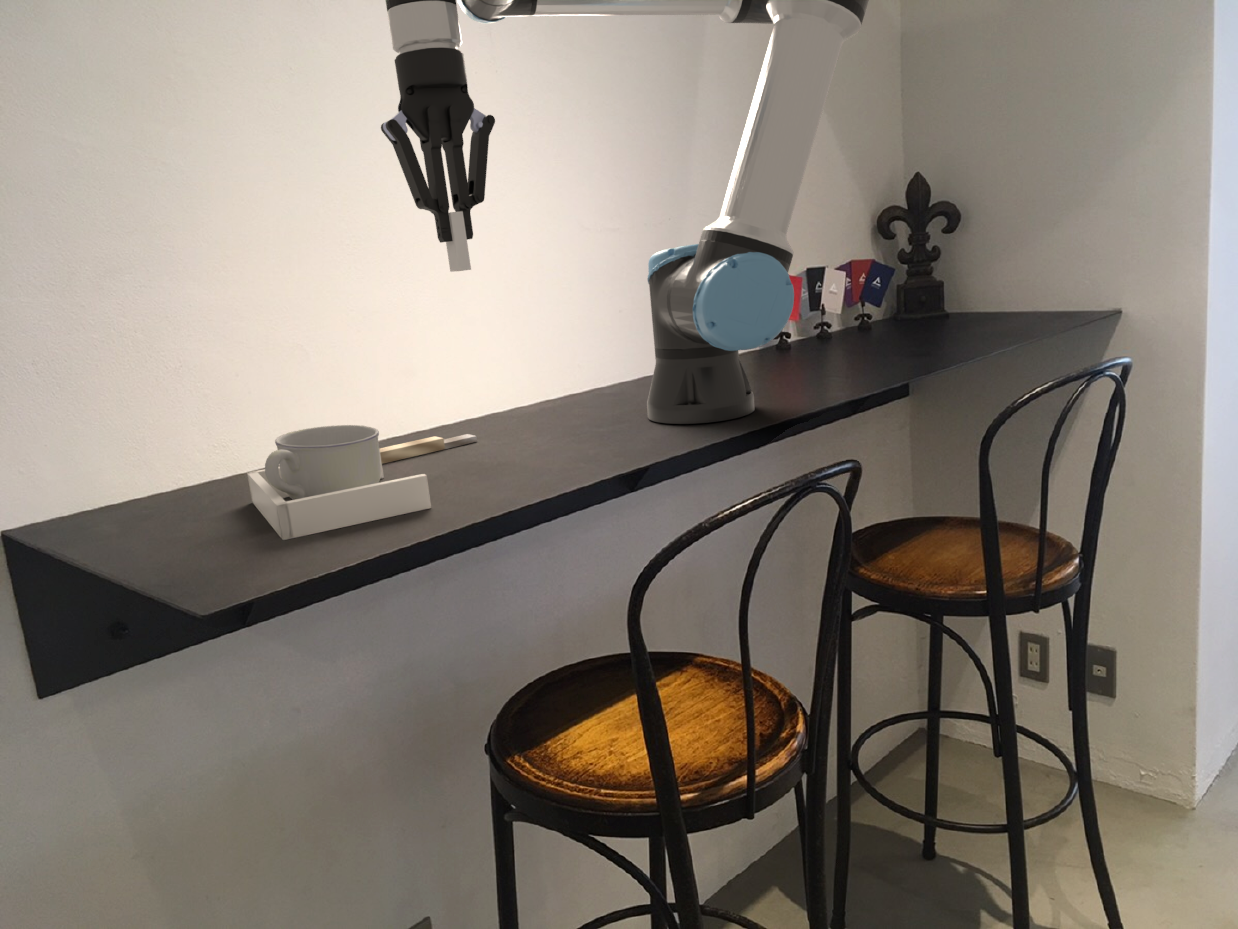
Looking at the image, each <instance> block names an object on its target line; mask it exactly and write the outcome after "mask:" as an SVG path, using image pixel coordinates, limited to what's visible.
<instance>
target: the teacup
mask: <svg viewBox="0 0 1238 929" xmlns="http://www.w3.org/2000/svg"><path fill="white" fill-rule="evenodd" d="M379 435H380V431H379V430H378V429H377V428H375V427H371V426H368V425H357V424H339V425H326V426H325V425H324V426H316V427H309V428H303V429H298V430H294V431H290V432H287V433H284V434H282V435H279V436H277V437H276V438H275V440H274V443H275V445H276V448H277V449H276V450H274V451H272V452H271V453H269V455H268V456H267V458H266V460H265V463H264V469H265V474H266V478H267V480H268V481H269V483H270V484H271V485H272V486H273V487H275V488H277V489H278V490H280V491H282V492H285V493H287V494H288V496H289V497H288V498H290V499H292V500H296V499H301V498H306V497H311V496H316V495H320V494H325V493H330V492H335V491H340V490H345V489H350V488H355V487H360V486H365V485H370V484H375V483H380V482H381V479H380V475H381V468H380V452H379V449H380V444H379ZM279 466H280V472H281V477H282V479H281V478H280V476H279V471H278V467H279Z"/></svg>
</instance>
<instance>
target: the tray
mask: <svg viewBox="0 0 1238 929" xmlns="http://www.w3.org/2000/svg"><path fill="white" fill-rule="evenodd" d="M379 452H380V450H379ZM380 468H381V475H380V480H381V479H385V476H384V469H383V464H382V462H381V455H380ZM278 471H279V476H280V478H281V479H282V477H281V472H280V465H279V467H278ZM246 476H247V480H248V485H249V486H248V487H249V492H250V498H251V503H252V504H253V505H254V506H255V507H256V509H257V510H258V511H259V513H260V514H261V515H262V516H263V518H265V520H266V521H267V522H268V524H269V525H270V526H271V527H272V528H273V530H274V531H275V532H276V533H277V535H278V536H279V537H280V539H281V540H282V541H285V540H291V539H294V538H300V537H305V536H308V535H313V534H319V533H322V532H327V531H333V530H336V529H340V528H346V527H350V526H354V525H360V524H364V523H368V522H369V523H370V522H372V521H373V522H374V521H377V520H382V519H383V520H384V519H387V518H392V517H395V516H396V517H397V516H401V515H404V514H410V513H415V512H419V511H424V510H428V509H431V508H432V503H431V502H432V501H431V496H430V488H429V482H428V476H427V474H425V473H421V474H416V475H410V476H406V477H400V478H395V479H392V480H385V481H380V482H379V483H375V484H370V485H365V486H360V487H355V488H350V489H345V490H340V491H335V492H330V493H325V494H320V495H316V496H311V497H306V498H301V499H296V500H293V499H292V500H285V498H286V499H287V498H290V497H289V496H288V494H287V493H285V492H282V491H280V490H278V489H277V488H275V487H273V486H272V485H271V484H270V483H269V481H268V480H267V478H266V474H265V468H264V469H259V470H253V471H247V472H246Z"/></svg>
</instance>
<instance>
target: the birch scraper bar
mask: <svg viewBox="0 0 1238 929" xmlns="http://www.w3.org/2000/svg"><path fill="white" fill-rule="evenodd" d="M477 438H478V437H477V435H473V434H470V433H466V434H462V435H457V436H453V437H449V438H448V437H447V438H443V437H439V436H436V435H435V436H430V437H425V438H421V439H416V440H412V441H407V442H403V443H399V444H393V445H388V446H385V447H379V450H380V455H381V462H382V465H383V464H387V463H391V462H395V461H399V460H403V459H409V458H413V457H417V456H421V455H426V454H431V453H434V452H439V451H443V450H448V449H452V448H457V447H460V446H465V445H468V444H473V443H477V442H478V439H477Z"/></svg>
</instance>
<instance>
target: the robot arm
mask: <svg viewBox="0 0 1238 929" xmlns="http://www.w3.org/2000/svg"><path fill="white" fill-rule="evenodd" d="M869 1H870V0H385V5H386V6H385V7H386V11H387V19H388V25H389V31H390V33H389V34H390V39H391V44H392V50H393V51H394V52H395V53H398V55H396V57H395V58H394V65H395V72H396V80H397V84H398V86H397V87H398V90H399V96H400V97H399V98H400V99H399V103H398V106H397V111H398V112H397V113H396V114H395V115H394V116H392V117H391V118H390V119H389V120H386V121H385V122H383V123H382V124H381V125H380V130H381V132H382V133H383V135H384V136H385V137H386V139H387V140H388V142H390V143H391V145H392V147H393V149H394V152H395V155H396V156H397V160H398V162H399V165H400V168H401V170H402V172H403V175H404V178H405V180H406V183H407V186H408V188H409V191H410V192H411V195H412V199H413V202H414V203H415V207H416V208H417V209H418V210H425V211H428V212H430V213H431V214H432V215H433V216H434V221H435V222H434V223H435V230H436V235H437V239H438V241H439V243H446V244H445V246H446V251H447V258H448V264H449V270H450V271H449V272H451V273H452V272H464V271H472V266H471V260H470V252H469V246H468V240H472V239H473V237H474V230H473V223H472V216H471V210H472V208H474V207H475V206H477V205H479V204H481V203H483V202H484V201H485V198H486V197H485V195H486V184H487V183H486V182H487V169H488V154H489V144H490V143H489V142H490V135H491V134H492V131H493V128H494V126H495V124H496V118H495V116H493V115H492V114H487V115H486V114H484V113H482V112H481V111H479V110H478V109H477V108H475V104H474V101H473V99H472V98H471V96H470V93H469V90H468V89H469V87H468V76H467V70H466V63H465V56H464V55H465V54H464V53H463V52H462V50H460V49H458V48H460V47H461V45H462V44H463V40H462V33H461V27H460V26H461V25H460V21H459V13H458V6H459V8H460V9H461V11H462V12H463V13H464V14H465V15H466V16H467V17H468V18H470V19H471V20H472V21H474V22H476V23H480V24H485V25H486V24H488V25H489V24H494V23H497V22H499V21H503V20H504V19H506V18H507V17H530V16H531V17H540V16H541V17H542V16H543V17H545V16H546V17H547V16H549V17H553V16H556V17H558V16H561V17H562V16H567V17H568V16H573V17H574V16H694V15H696V16H697V15H698V16H699V15H700V16H701V15H703V16H706V15H710V16H712V15H717V17H719V19H720V20H721V21H722V22H723V23H724V24H765V25H767V24H768V25H769V24H772V25H773V27H772V31H771V35H770V38H769V42H768V45H767V49H766V52H765V55H764V59H763V62H762V66H761V69H760V70H761V71H760V73H759V75H758V76H759V77H758V80H757V83H756V88H755V91H754V93H753V97H752V101H751V103H750V104H751V105H750V108H749V112H748V115H747V118H746V121H745V122H746V123H745V124H744V125H745V126H744V129H743V132H742V136H741V139H740V144H739V145H738V146H739V147H738V149H737V154H736V158H735V161H734V164H733V168H732V171H731V175H730V179H729V181H728V185H727V189H726V192H725V196H724V199H723V202H722V206H721V209H720V213H719V216H718V218H717V219H716V220H714V221H713V222H711V223H710V224H708V225H706V226H705V227H703V229H702V231H701V235H700V238H699V241H698V243H695V244H688V245H687V244H686V245H683V246H682V245H681V246H677V247H673V248H667V249H662V250H660V251H657V252H655V253H653V254H652V255H651V256H650V257H649V259H648V264H647V265H648V273H647V274H648V275H647V284H648V286H649V288H648V289H649V297H650V299H649V300H650V307H651V308H650V310H651V321H652V332H653V333H652V335H653V344H654V356H655V365H654V370H653V374H652V378H651V382H650V383H651V384H650V388H649V392H648V397H647V400H646V410H647V418H648V420H650V421H652V422H655V423H660V424H672V425H673V424H674V425H675V424H676V425H689V424H690V425H692V424H693V425H694V424H705V423H706V424H707V423H714V422H717V423H718V422H723V421H730V420H734V419H738V418H742V417H744V416H748V415H750V414H752V413H753V412H754V411H755V408H756V407H755V396H754V392H753V390H752V388H751V385H750V382H749V380H748V376H747V374H746V372H745V371H746V370H745V369H744V366H743V365H742V362H741V357H740V356H739V355H740V354H739V351H749V350H754V349H757V348H760V347H762V346H764V345H766V344H768V343H770V342H772V340H774V339H775V338H776V337H777V336H778V335H779V334H780V333H781V332H782V331H783V330H784V328H785V327H786V326H787V324H788V322H789V320H790V317H791V315H792V313H793V310H794V303H795V301H794V300H795V290H794V285H793V283H792V280H791V278H790V275H789V271H790V266H791V265H792V264H791V263H792V261H793V257H794V251H793V249H792V247H791V245H790V243H789V241H788V238H787V232H788V230H789V226H790V223H791V220H792V216H793V212H794V209H795V206H796V202H797V199H798V195H799V192H800V189H801V186H802V183H803V182H802V181H803V179H804V175H805V171H806V168H807V165H808V162H809V158H810V155H811V152H812V149H813V145H814V143H815V142H814V141H815V138H816V136H817V132H818V128H819V125H820V121H821V118H822V115H823V111H824V108H825V104H826V101H827V98H828V94H829V90H830V87H831V84H832V80H833V77H834V74H835V70H836V66H837V63H838V59H839V56H840V53H841V51H842V47H843V44H844V42H846V41H847V40H849V39H851V38H852V37H854V36H856V35H857V34H858V33H859V32H860V31H861V28H862V25H863V24H862V23H863V22H864V21H863V20H864V19H865V18H864V17H865V15H866V11H867V7H868V5H869ZM457 4H458V5H457ZM469 121H470V124H469V125H470V126H469V127H470V130H471V131H472V133H471V138H470V143H469V144H470V145H469V147H470V148H469V157H468V158H469V159H468V171H467V170H466V169H467V168H466V163H465V161H466V160H465V156H464V154H465V153H464V149H463V147H464V138H463V133H464V132H465V130H466V127H467V125H468V123H469ZM408 127H409V128H410V129H411V130H412V132H414V134H415V135H416V136H417V137H418V139H419V143H420V149H421V151H422V154H423V160H424V165H425V166H424V167H425V172H426V178H427V179H426V178H425V176H424V173H423V171H422V168H421V165H420V163H419V160H418V157H417V154H416V152H415V150H414V146H413V144H412V141H411V139H410V137H409V135H408V134H407V133H408V131H409V130H408ZM442 150H443V151H444V155H445V156H444V157H445V161H446V162H445V164H446V169H447V175H448V181H449V182H448V183H449V188H450V196H451V202H452V207H453V210H454V211H451V212H449V210H450V200H449V195H448V188H447V182H446V181H447V180H446V174H445V168H444V167H445V166H444V159H443V155H442V154H443V153H442ZM467 172H468V174H467ZM426 180H427V181H426Z"/></svg>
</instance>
